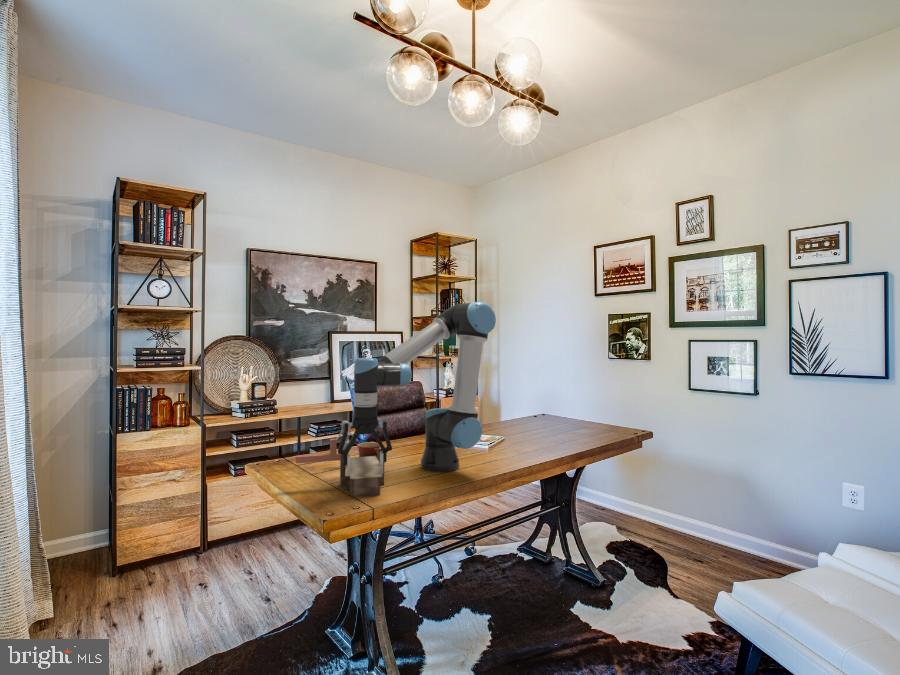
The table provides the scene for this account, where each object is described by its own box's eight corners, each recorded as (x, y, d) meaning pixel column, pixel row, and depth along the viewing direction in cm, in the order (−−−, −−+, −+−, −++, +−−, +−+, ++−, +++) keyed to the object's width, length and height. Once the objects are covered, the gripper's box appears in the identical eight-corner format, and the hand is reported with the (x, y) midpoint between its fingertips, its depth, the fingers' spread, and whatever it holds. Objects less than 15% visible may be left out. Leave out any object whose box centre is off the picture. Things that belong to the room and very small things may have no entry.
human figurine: (333, 471, 177) (334, 423, 177) (328, 469, 179) (329, 422, 179) (360, 465, 185) (361, 420, 185) (355, 463, 188) (356, 418, 188)
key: (345, 458, 159) (345, 438, 159) (345, 460, 157) (345, 439, 157) (295, 461, 155) (296, 440, 155) (295, 463, 153) (295, 441, 153)
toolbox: (382, 481, 164) (382, 448, 164) (388, 494, 151) (389, 458, 151) (339, 484, 160) (340, 451, 160) (342, 498, 147) (343, 461, 147)
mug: (352, 471, 176) (352, 444, 176) (370, 467, 182) (370, 441, 182) (372, 478, 168) (372, 449, 168) (390, 473, 174) (391, 445, 174)
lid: (375, 464, 164) (375, 456, 164) (382, 476, 150) (382, 467, 150) (346, 466, 161) (346, 457, 161) (350, 479, 147) (350, 469, 147)
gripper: (330, 408, 145) (329, 479, 145) (402, 405, 152) (401, 474, 152) (329, 404, 153) (328, 473, 153) (397, 402, 159) (397, 468, 159)
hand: (364, 473), depth 152 cm, fingers closed on lid, 10 cm apart
